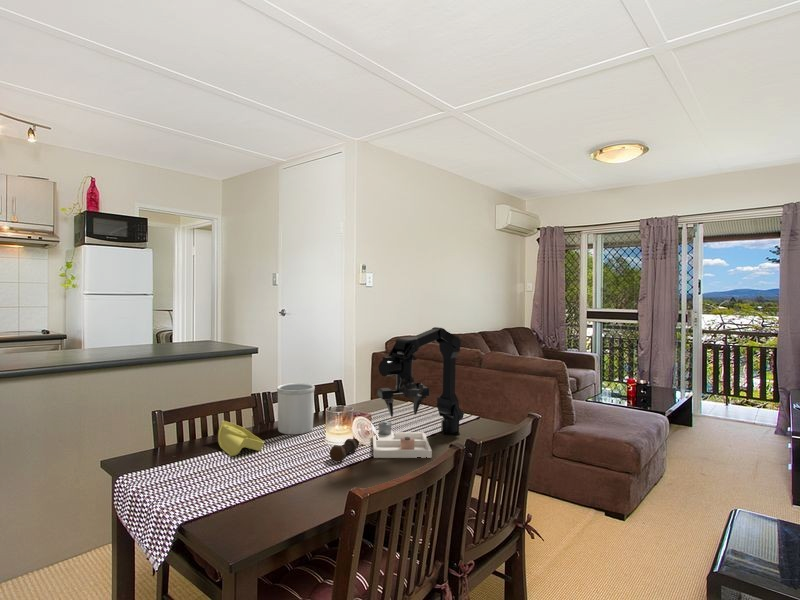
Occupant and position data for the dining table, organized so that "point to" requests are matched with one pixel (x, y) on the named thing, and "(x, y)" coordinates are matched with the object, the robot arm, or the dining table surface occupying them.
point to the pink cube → (407, 443)
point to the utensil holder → (295, 408)
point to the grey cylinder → (385, 428)
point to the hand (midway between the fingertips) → (403, 415)
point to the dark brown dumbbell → (343, 449)
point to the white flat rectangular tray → (391, 446)
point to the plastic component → (237, 438)
